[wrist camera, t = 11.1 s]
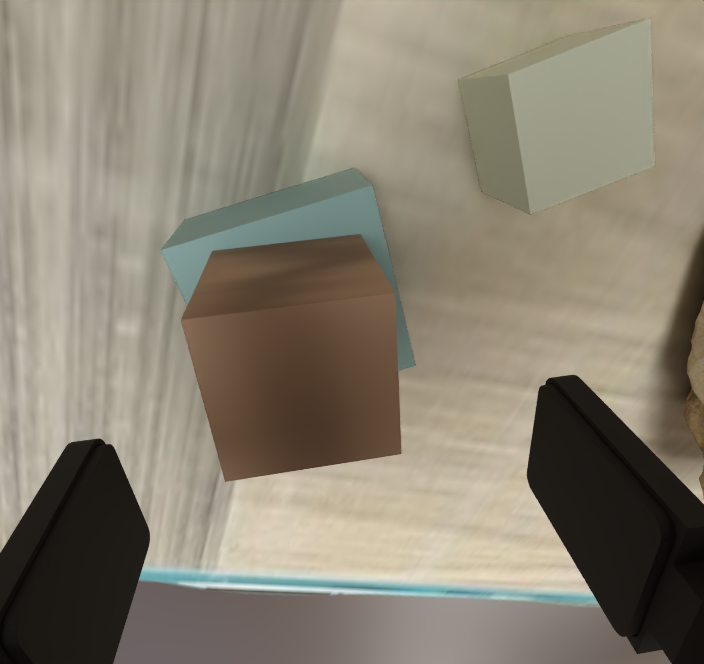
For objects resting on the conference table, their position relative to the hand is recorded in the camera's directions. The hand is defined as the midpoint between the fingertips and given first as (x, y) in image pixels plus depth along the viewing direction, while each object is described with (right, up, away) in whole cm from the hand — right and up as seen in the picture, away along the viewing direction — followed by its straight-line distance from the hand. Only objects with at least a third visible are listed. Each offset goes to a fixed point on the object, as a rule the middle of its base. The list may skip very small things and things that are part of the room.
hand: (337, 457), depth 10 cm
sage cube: (+8, +13, +11) cm, 18 cm away
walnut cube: (-2, +4, +8) cm, 9 cm away
